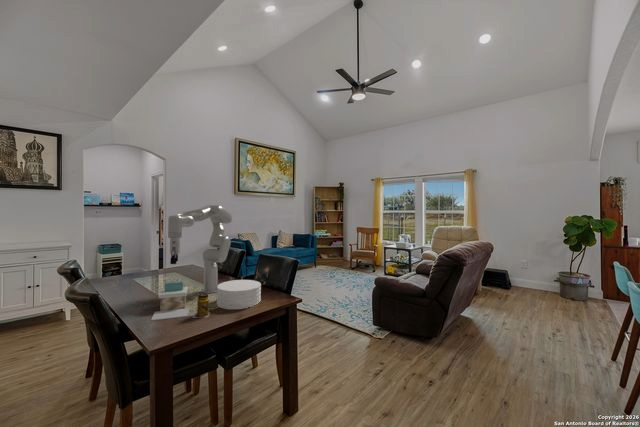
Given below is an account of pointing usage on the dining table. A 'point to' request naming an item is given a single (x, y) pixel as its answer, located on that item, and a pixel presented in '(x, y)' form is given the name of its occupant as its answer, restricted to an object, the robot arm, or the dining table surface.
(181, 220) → the robot arm
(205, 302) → the condiment
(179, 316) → the mat
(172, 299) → the crate
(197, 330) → the dining table surface
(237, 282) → the plate stack
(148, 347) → the dining table surface
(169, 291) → the lid
